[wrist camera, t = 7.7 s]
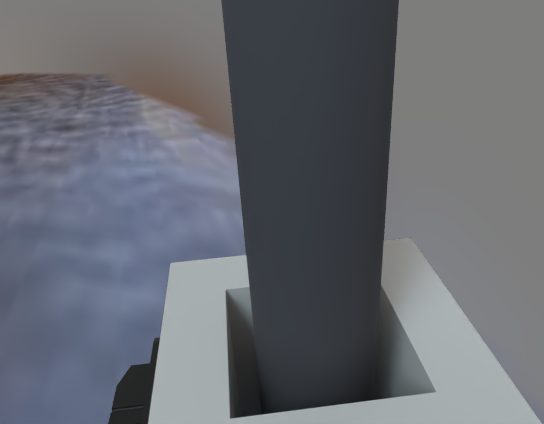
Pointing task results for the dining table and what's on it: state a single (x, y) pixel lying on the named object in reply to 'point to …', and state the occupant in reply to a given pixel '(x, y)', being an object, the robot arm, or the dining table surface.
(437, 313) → the sleeve
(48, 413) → the dining table surface
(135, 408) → the robot arm
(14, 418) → the dining table surface
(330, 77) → the dark grey piece
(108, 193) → the dining table surface
